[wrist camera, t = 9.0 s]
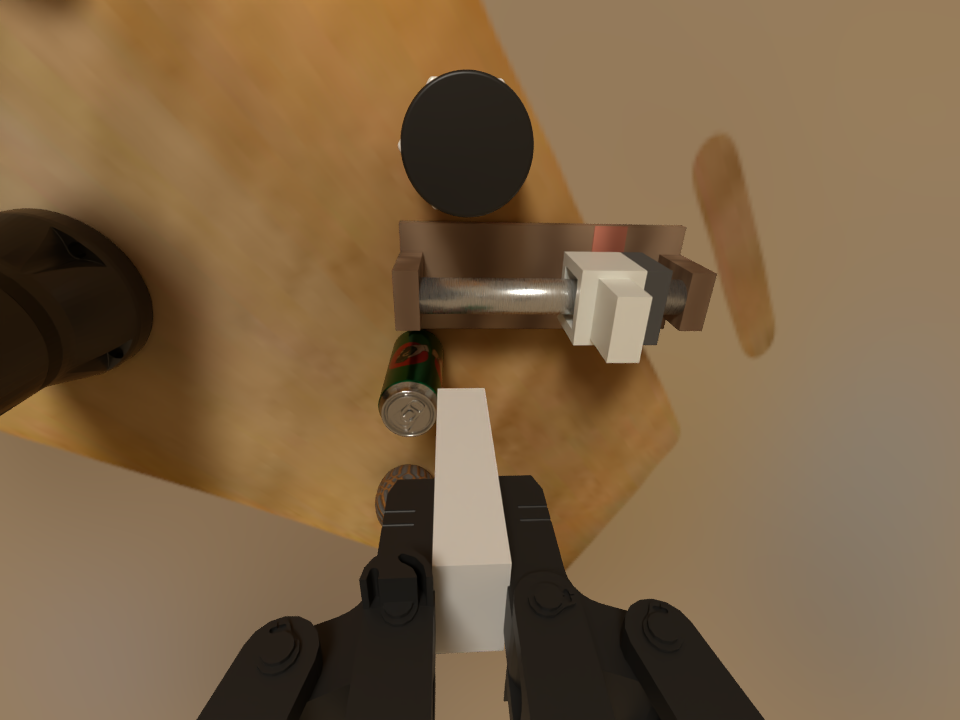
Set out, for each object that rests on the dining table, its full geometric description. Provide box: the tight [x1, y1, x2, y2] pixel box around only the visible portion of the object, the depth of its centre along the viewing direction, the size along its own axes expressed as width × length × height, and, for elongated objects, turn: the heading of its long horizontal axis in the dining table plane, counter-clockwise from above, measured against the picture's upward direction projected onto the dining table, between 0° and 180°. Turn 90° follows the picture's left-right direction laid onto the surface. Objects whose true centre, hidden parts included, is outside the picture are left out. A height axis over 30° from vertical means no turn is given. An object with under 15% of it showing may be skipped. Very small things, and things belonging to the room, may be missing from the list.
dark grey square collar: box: [621, 252, 673, 345], centre depth 38 cm, size 2×6×6 cm, turn 179°
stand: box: [392, 221, 717, 331], centre depth 40 cm, size 26×10×8 cm, turn 89°
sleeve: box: [557, 251, 653, 363], centre depth 36 cm, size 5×6×11 cm
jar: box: [398, 70, 534, 217], centre depth 32 cm, size 9×8×12 cm
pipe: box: [419, 277, 687, 315], centre depth 38 cm, size 24×3×3 cm, turn 89°
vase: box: [375, 464, 433, 526], centre depth 49 cm, size 7×7×9 cm
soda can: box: [378, 330, 443, 437], centre depth 41 cm, size 5×5×12 cm
